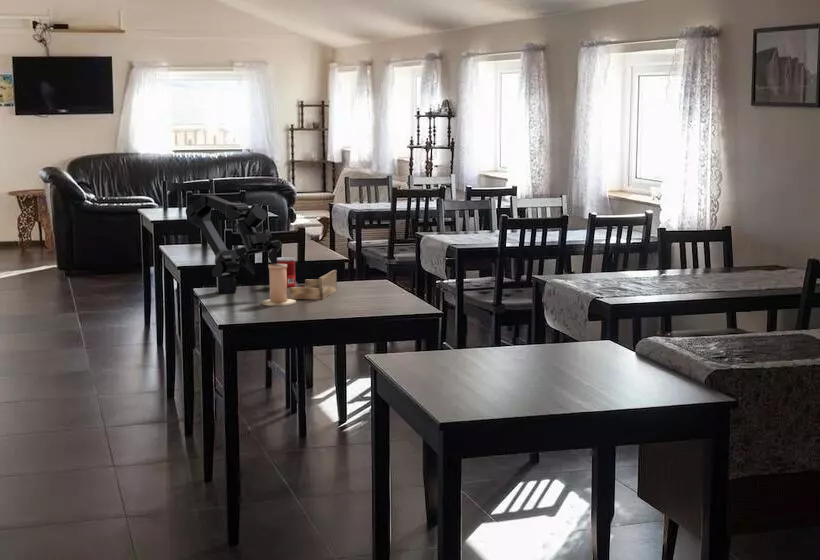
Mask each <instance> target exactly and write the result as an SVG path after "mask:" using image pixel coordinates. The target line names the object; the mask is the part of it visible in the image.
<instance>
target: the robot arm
mask: <svg viewBox="0 0 820 560" xmlns="http://www.w3.org/2000/svg"><path fill="white" fill-rule="evenodd" d="M213 209H215V210H216V211H219V212H222V213H223V214H225V217H227V218H228V219H230V220H231V221H238V220H239V221H238V222H234V226H233V231H238V233H239V235H240V237H241V239H242V240H241V243H242V245H244V246H245V247H244V246H241V247H239V248H235V249H228V248H227V246H226V245H225V243H224V241H223V240H222V238H221V236H220V235H219V232H218V231H217V229H216V228H215V226H214V224H213V223H212V221H211V215H212V214H211V212H212V211H213ZM267 214H268V213H267V211H266V210H265V209H264V208H262V206H259V204H258V203H253V204H252V205H251V206H250V207H249V205H248V204H247V203H243V202H232V201H229V200H226V199H223V198H222V197H219V196H216V195H215V194H213V193H212V194H211V193H209V194H208V193H207V194H201V196H199V198H198V199H196V200H194V201H192V202H190V203H189V204H188V205H187V207H186V208H185V215H186V217H187V218H188V219H189V221H190V223H192V224H193V225H196V226H197V227H198V228H199V229H200V232H201V234H202V235H203V236H204V238H205V241H206V242H207V243H208V246H209V247H210V249H211V251H212V252H213V254H214V257H215V258H214V264H215V265H214V267H213V269H211V275H212V278H213V277H214V278H216V290H215V291H216V292H217V294H219V295H220V294H234V293H235V294H236V292H237V279H235V276H239V273H240V268H241V266H242V267H244V268H245V269H246V270H248V271H249V272H250V273H251V274H252V275H255V274H256V271H255V267H254V266H253V264H252V262H251V260H250V256H251V255H255V254H259V253H264V252H266V254H268V255H267V258H268V259H269V261H270V264H277V258H278V252H279V251H280V250H281V248H282V247H283V244H282V242H281V240H279V239H277V240H276V239H275V240H272V241H271V240H269V239H271V238H272V236H273V235H272V232H271V231H270V228H269V229H265V230H263V232H260V231H257V230H256V228H258V227H259V226H260V225H261V224H262V223H263V222H264V221H265V220H266V219H267V216H268V215H267ZM266 242H268V244H267V245H266Z"/></svg>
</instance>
